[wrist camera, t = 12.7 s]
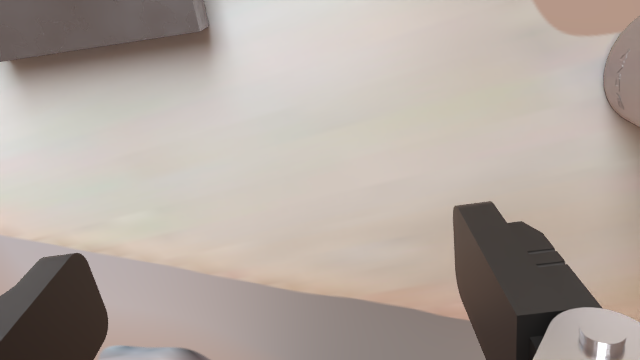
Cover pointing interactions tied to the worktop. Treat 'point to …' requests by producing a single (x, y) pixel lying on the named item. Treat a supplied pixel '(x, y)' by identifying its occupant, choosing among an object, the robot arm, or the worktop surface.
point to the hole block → (91, 24)
